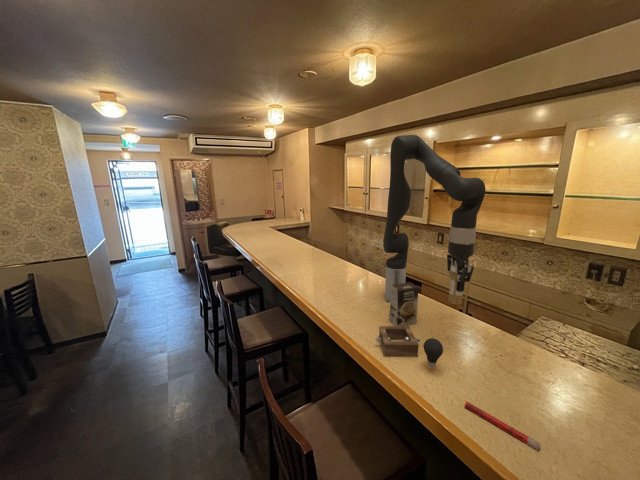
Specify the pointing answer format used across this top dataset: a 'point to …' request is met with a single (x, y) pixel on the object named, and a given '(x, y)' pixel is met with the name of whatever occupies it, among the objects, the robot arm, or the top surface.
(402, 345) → the brown wooden square frame
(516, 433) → the flare
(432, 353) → the light bulb
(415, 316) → the coffee box
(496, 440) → the top surface
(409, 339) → the plunger
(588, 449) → the top surface
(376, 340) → the plunger
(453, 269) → the sprinkles bottle
